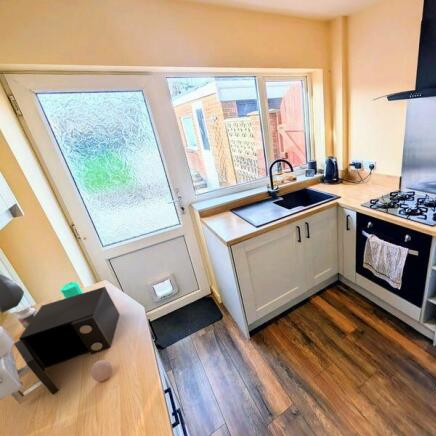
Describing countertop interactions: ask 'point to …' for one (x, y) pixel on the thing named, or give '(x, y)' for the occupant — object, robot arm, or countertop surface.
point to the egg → (101, 370)
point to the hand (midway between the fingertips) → (17, 382)
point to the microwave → (72, 327)
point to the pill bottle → (25, 315)
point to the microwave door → (37, 370)
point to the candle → (71, 289)
